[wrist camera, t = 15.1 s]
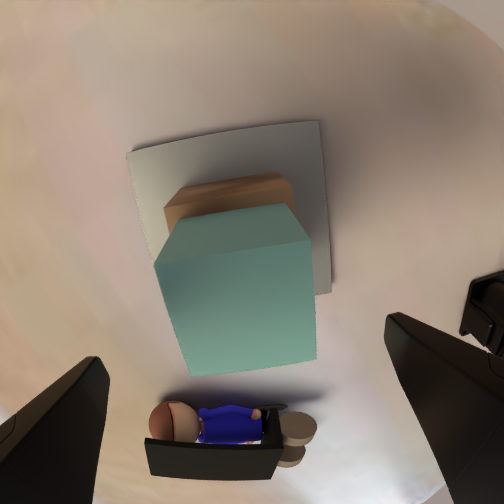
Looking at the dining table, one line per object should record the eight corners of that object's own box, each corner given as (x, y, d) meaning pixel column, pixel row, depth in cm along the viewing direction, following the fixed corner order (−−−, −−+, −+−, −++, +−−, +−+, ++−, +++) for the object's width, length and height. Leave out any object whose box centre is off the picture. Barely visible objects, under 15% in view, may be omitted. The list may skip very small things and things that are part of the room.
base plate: (314, 120, 18) (318, 120, 17) (328, 285, 23) (331, 292, 22) (130, 151, 18) (125, 153, 17) (171, 310, 23) (169, 317, 22)
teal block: (285, 202, 14) (310, 239, 10) (294, 295, 16) (316, 359, 11) (178, 219, 14) (153, 264, 10) (200, 309, 16) (190, 376, 11)
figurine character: (303, 381, 29) (147, 383, 26) (328, 441, 22) (141, 450, 19) (289, 420, 31) (153, 423, 28) (308, 474, 24) (151, 483, 21)
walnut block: (277, 171, 18) (292, 185, 14) (288, 260, 21) (303, 298, 16) (180, 188, 19) (163, 208, 14) (200, 274, 21) (192, 316, 16)
